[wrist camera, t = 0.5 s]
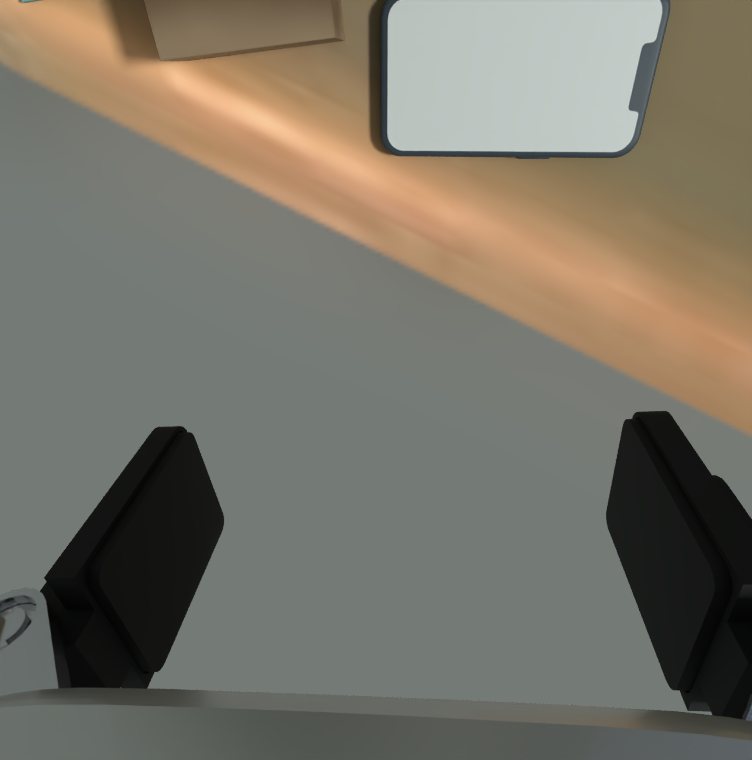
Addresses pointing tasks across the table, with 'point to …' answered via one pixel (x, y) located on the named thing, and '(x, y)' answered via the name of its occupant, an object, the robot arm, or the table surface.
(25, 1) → the mat
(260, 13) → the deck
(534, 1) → the smartphone
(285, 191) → the table surface
